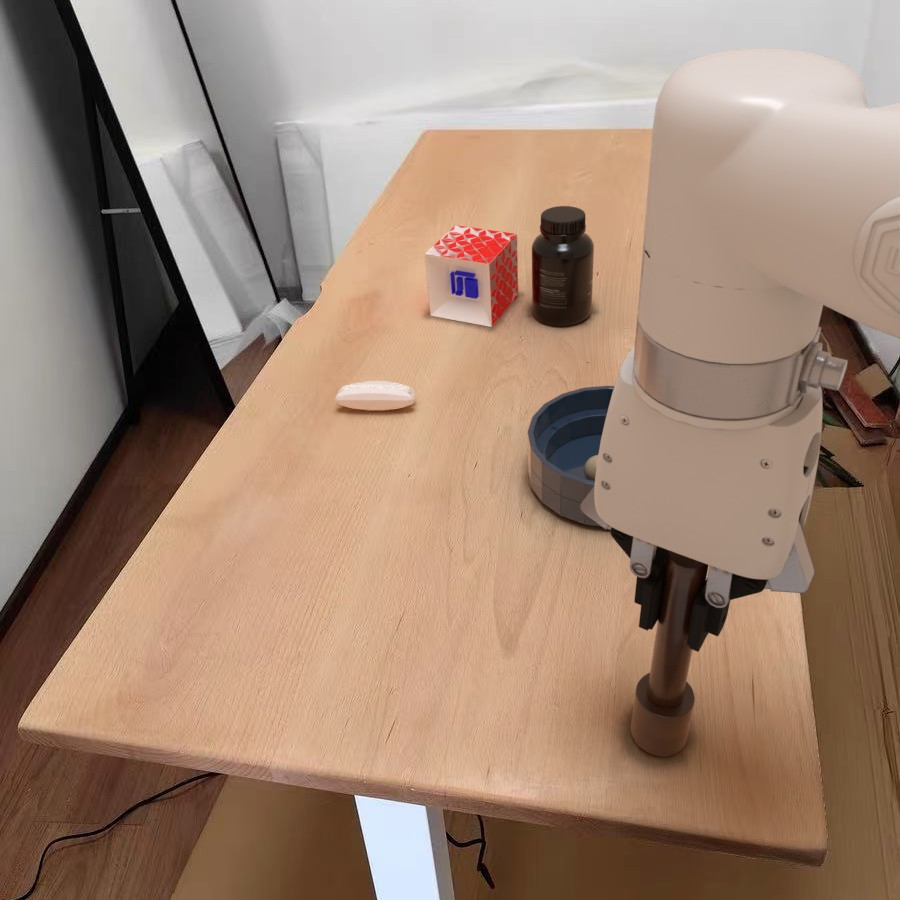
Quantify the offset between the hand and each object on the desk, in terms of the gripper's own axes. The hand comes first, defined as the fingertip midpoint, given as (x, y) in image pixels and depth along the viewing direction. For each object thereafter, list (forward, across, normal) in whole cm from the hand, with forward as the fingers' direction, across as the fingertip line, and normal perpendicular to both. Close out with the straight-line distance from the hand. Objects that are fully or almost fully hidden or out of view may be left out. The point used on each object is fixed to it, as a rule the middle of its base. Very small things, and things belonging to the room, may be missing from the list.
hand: (678, 621), depth 50 cm
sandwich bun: (+11, +39, -20) cm, 45 cm away
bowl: (+11, +14, -22) cm, 28 cm away
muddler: (+10, 0, 0) cm, 10 cm away
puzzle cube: (+11, +41, -42) cm, 60 cm away
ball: (+9, +14, -20) cm, 26 cm away
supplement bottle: (+11, +31, -46) cm, 56 cm away
